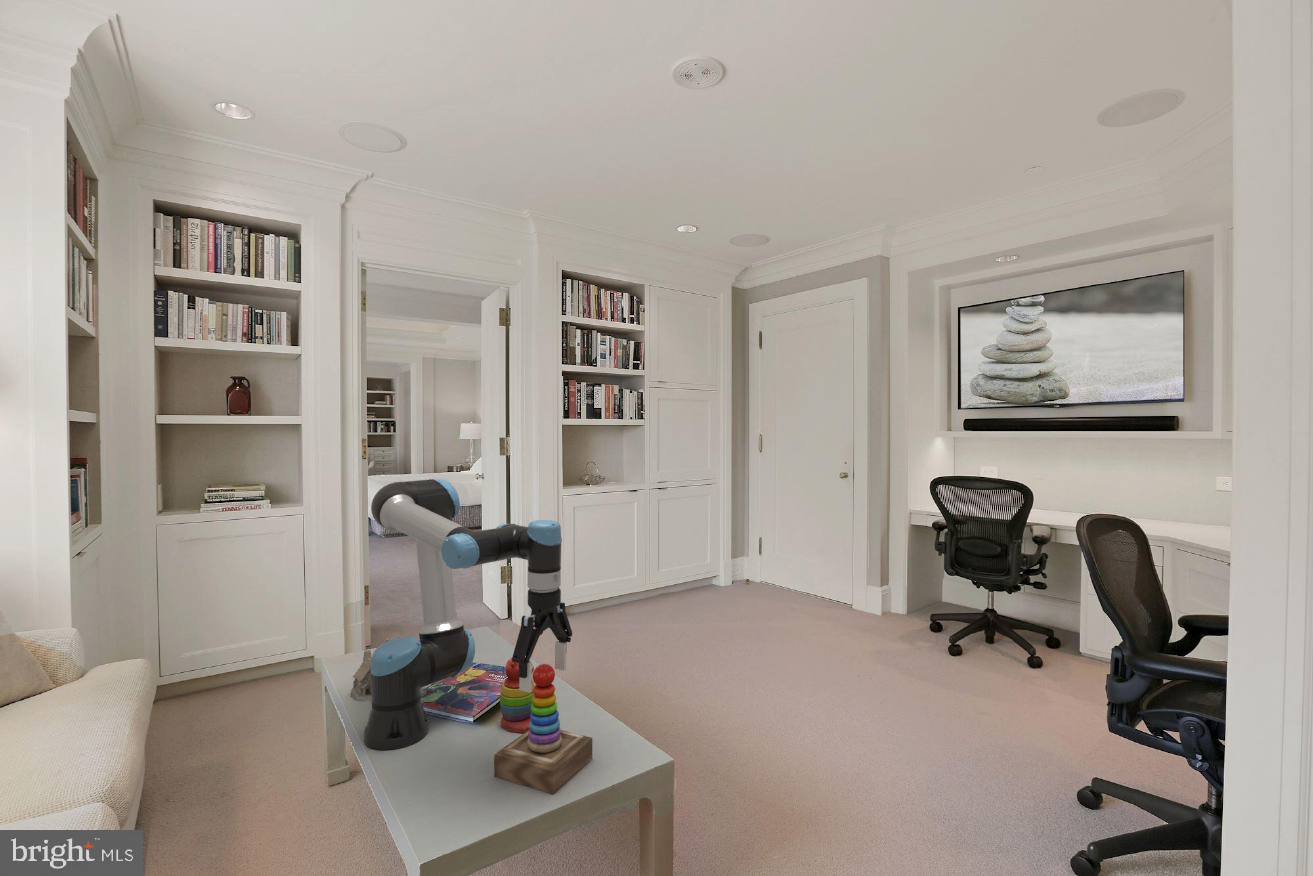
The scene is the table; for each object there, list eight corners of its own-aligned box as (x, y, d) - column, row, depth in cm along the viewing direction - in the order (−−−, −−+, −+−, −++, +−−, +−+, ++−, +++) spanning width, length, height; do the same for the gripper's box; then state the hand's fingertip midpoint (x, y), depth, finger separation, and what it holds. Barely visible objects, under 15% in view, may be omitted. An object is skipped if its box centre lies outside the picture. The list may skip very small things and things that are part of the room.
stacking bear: (528, 734, 159) (528, 665, 159) (492, 730, 161) (492, 662, 161) (544, 715, 170) (544, 650, 170) (510, 712, 172) (510, 648, 172)
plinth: (494, 776, 140) (494, 750, 140) (537, 743, 155) (537, 720, 155) (553, 794, 133) (553, 767, 133) (592, 758, 148) (592, 734, 148)
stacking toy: (563, 736, 148) (564, 658, 148) (560, 754, 140) (560, 671, 140) (530, 737, 148) (530, 658, 147) (524, 754, 140) (525, 672, 139)
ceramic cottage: (346, 690, 186) (349, 641, 185) (404, 679, 195) (406, 632, 195) (358, 713, 173) (360, 660, 172) (418, 700, 183) (421, 650, 182)
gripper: (523, 604, 130) (523, 704, 131) (587, 578, 153) (586, 663, 153) (495, 599, 134) (495, 697, 134) (561, 574, 156) (560, 658, 157)
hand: (543, 679), depth 144 cm, fingers open, 13 cm apart
